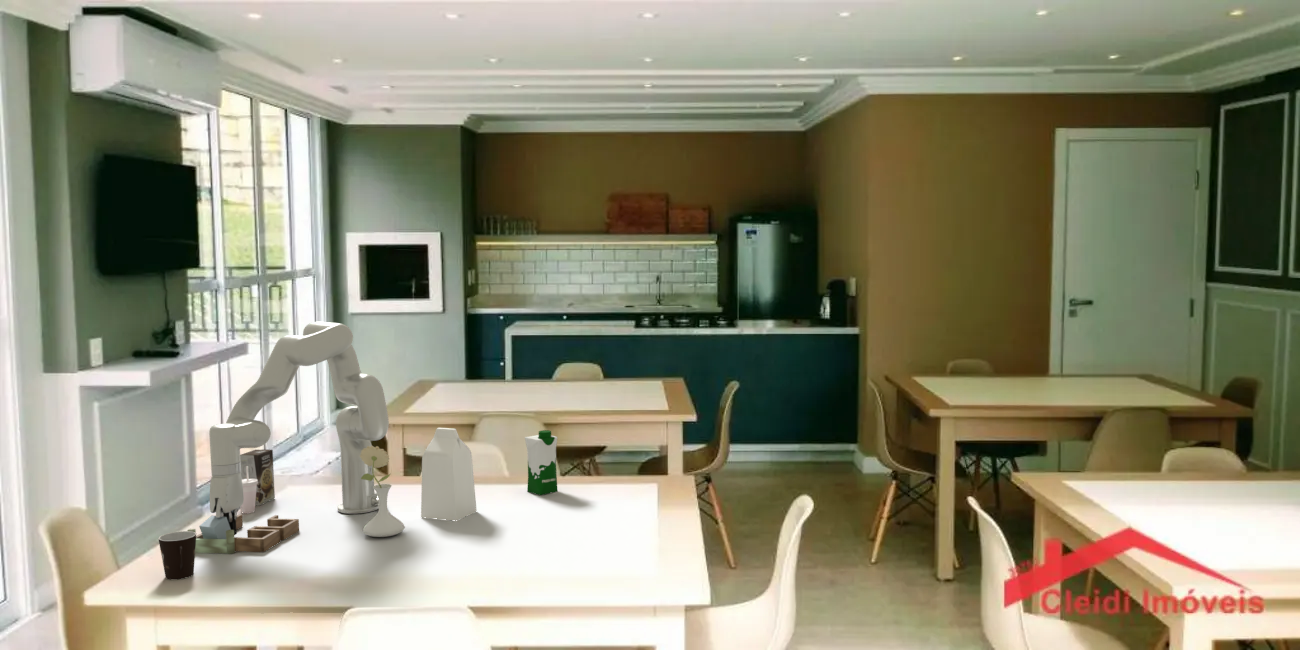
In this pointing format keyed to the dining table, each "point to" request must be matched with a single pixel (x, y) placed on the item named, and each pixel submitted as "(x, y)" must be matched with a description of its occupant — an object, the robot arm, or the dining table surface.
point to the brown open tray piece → (249, 537)
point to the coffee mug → (178, 553)
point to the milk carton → (542, 463)
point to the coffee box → (260, 473)
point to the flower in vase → (380, 496)
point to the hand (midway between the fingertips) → (229, 535)
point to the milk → (447, 477)
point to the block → (215, 528)
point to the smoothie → (249, 494)
